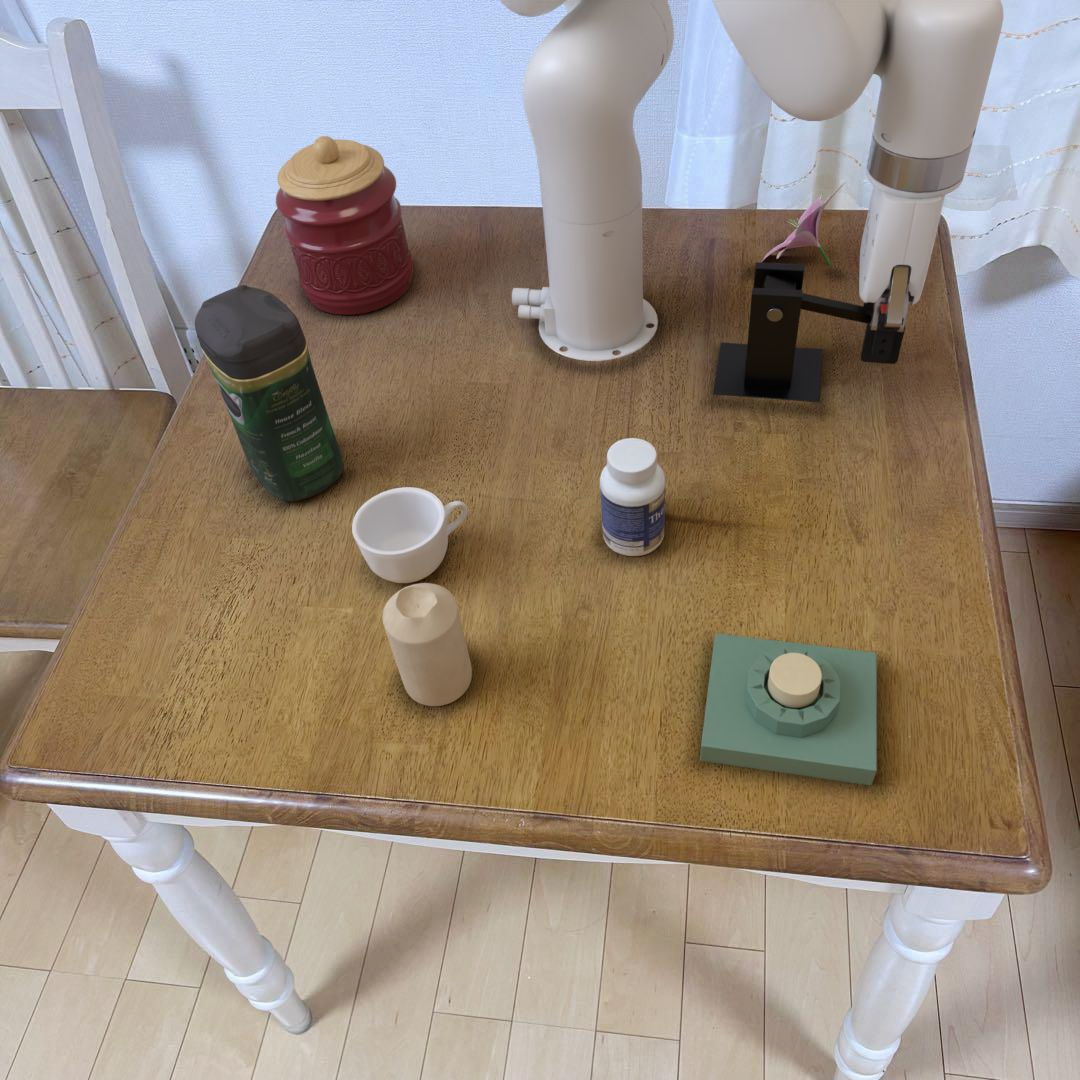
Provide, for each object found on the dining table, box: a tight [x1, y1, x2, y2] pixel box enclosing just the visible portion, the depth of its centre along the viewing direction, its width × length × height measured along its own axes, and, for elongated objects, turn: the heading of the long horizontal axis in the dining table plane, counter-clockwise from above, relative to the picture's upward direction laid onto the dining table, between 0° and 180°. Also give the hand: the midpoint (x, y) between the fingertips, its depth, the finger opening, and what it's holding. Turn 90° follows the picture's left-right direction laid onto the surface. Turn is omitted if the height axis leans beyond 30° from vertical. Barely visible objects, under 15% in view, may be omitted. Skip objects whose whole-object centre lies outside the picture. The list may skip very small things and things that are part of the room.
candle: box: [381, 582, 473, 707], centre depth 77 cm, size 6×6×10 cm
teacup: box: [351, 486, 469, 584], centre depth 87 cm, size 10×8×5 cm
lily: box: [760, 181, 847, 267], centre depth 110 cm, size 12×12×10 cm
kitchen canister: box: [275, 135, 414, 316], centre depth 111 cm, size 13×13×18 cm
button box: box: [699, 632, 878, 786], centre depth 74 cm, size 12×10×4 cm
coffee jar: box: [194, 284, 345, 502], centre depth 91 cm, size 10×8×19 cm
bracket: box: [712, 261, 823, 403], centre depth 96 cm, size 10×8×12 cm
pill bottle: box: [599, 437, 666, 557], centre depth 85 cm, size 5×5×10 cm
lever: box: [762, 275, 888, 324], centre depth 93 cm, size 12×5×2 cm, turn 78°
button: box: [768, 653, 822, 708], centre depth 73 cm, size 4×4×2 cm
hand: (878, 339), depth 95 cm, fingers closed on lever, 5 cm apart
